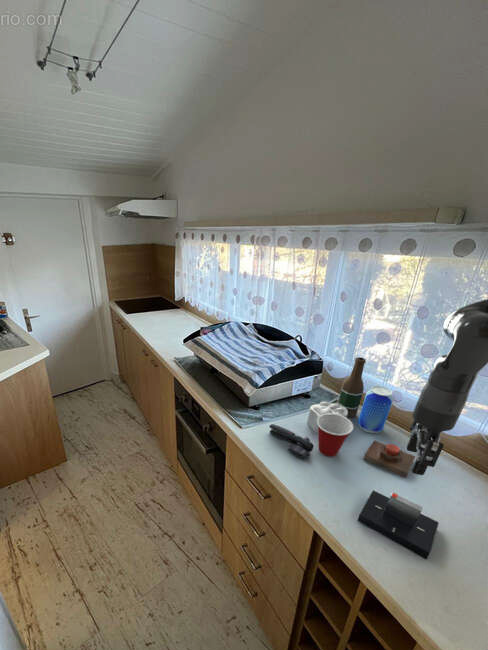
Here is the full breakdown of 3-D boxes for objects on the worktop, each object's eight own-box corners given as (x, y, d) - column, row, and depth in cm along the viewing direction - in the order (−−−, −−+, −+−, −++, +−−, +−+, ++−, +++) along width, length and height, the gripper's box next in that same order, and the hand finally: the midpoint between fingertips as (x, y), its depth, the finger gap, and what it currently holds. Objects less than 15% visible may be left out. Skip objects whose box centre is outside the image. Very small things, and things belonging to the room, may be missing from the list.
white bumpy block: (303, 420, 119) (307, 401, 115) (333, 416, 121) (337, 397, 117) (319, 437, 110) (324, 417, 106) (350, 432, 112) (356, 412, 108)
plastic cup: (304, 451, 103) (310, 422, 98) (319, 437, 110) (326, 409, 104) (335, 467, 96) (344, 437, 91) (350, 452, 103) (359, 422, 97)
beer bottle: (331, 412, 123) (345, 358, 112) (340, 405, 128) (354, 352, 116) (351, 421, 118) (367, 364, 107) (359, 413, 123) (376, 358, 111)
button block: (413, 461, 98) (417, 452, 96) (405, 478, 92) (410, 468, 90) (372, 445, 106) (375, 435, 104) (363, 459, 99) (366, 450, 97)
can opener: (316, 454, 102) (319, 441, 99) (302, 462, 98) (305, 449, 96) (276, 428, 115) (278, 415, 112) (263, 434, 112) (264, 421, 109)
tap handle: (414, 523, 75) (423, 506, 72) (413, 528, 74) (421, 510, 71) (385, 508, 79) (392, 491, 76) (383, 512, 78) (390, 495, 75)
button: (399, 451, 97) (401, 447, 96) (396, 457, 95) (398, 453, 94) (386, 446, 99) (388, 442, 98) (383, 452, 97) (385, 447, 96)
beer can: (383, 425, 115) (396, 388, 108) (380, 437, 109) (394, 399, 102) (358, 418, 120) (369, 382, 112) (355, 429, 113) (366, 392, 106)
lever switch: (435, 528, 77) (439, 521, 76) (426, 559, 70) (430, 552, 69) (370, 496, 86) (373, 489, 85) (357, 520, 79) (359, 513, 78)
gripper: (472, 426, 58) (440, 487, 65) (452, 392, 69) (427, 447, 77) (425, 416, 61) (399, 476, 68) (413, 385, 72) (392, 440, 80)
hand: (414, 461), depth 72 cm, fingers open, 8 cm apart
